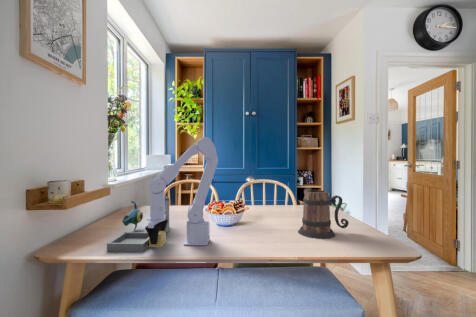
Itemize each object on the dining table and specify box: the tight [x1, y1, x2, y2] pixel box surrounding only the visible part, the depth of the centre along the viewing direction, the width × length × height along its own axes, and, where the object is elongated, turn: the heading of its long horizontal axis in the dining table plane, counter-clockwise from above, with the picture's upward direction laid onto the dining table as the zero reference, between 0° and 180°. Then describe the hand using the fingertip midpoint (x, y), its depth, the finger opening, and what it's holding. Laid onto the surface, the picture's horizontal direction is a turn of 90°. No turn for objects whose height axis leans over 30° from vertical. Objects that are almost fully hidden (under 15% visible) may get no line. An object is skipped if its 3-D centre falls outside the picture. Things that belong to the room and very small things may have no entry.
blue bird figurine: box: [121, 200, 144, 231], centre depth 115 cm, size 13×12×6 cm
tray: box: [106, 231, 149, 252], centre depth 98 cm, size 14×14×3 cm
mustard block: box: [148, 231, 167, 248], centre depth 98 cm, size 5×5×5 cm
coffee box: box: [164, 195, 170, 233], centre depth 118 cm, size 9×6×16 cm
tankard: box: [297, 189, 349, 240], centre depth 113 cm, size 24×17×20 cm
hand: (157, 240), depth 98 cm, fingers open, 7 cm apart
